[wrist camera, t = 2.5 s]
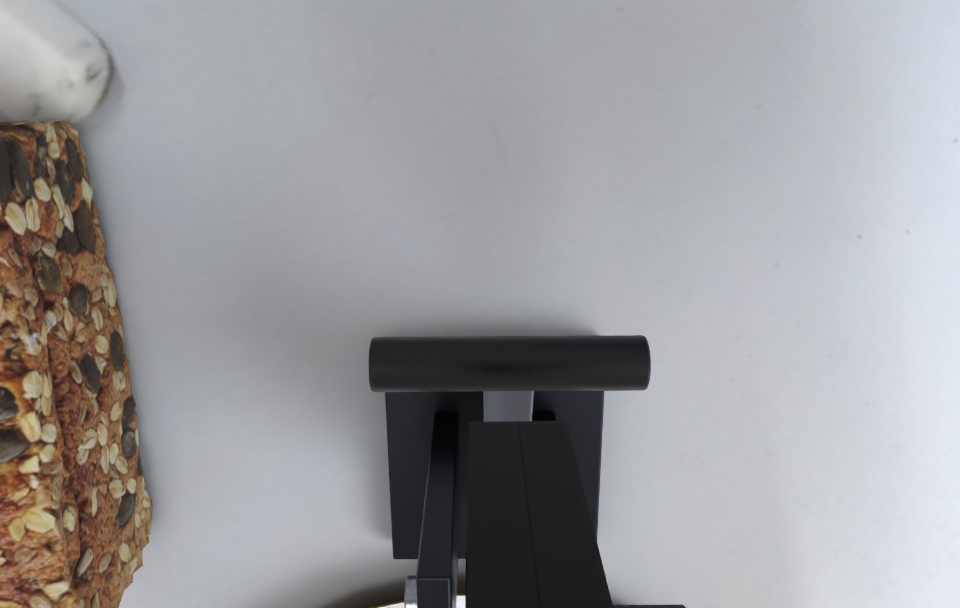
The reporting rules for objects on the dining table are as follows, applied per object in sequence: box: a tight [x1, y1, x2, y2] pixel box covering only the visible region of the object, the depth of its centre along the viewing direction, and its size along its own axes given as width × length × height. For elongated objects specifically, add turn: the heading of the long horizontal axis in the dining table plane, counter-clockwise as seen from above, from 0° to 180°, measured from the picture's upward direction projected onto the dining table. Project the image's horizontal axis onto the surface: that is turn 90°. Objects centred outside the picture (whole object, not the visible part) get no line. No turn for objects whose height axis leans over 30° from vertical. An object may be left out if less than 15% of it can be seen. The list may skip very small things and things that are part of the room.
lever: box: [369, 336, 651, 608], centre depth 21 cm, size 13×6×2 cm, turn 0°
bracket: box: [385, 391, 604, 608], centre depth 29 cm, size 10×9×12 cm
